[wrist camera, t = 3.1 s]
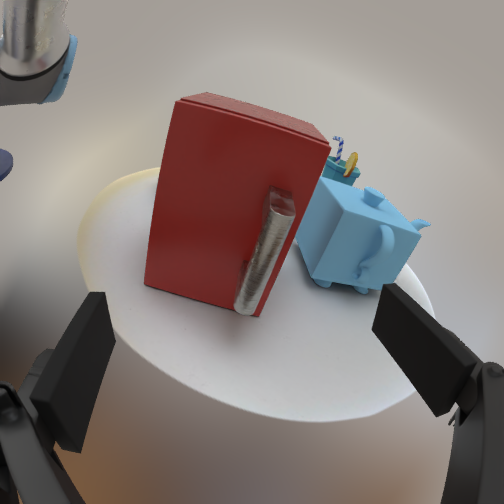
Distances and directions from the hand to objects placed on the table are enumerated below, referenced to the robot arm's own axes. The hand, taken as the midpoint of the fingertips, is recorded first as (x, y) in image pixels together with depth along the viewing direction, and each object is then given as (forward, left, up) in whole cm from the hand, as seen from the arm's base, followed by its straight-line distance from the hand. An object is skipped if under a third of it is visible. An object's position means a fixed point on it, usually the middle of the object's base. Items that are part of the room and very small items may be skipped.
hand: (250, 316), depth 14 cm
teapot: (-1, +31, -12) cm, 34 cm away
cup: (-15, +49, -12) cm, 52 cm away
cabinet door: (-8, +7, -12) cm, 16 cm away
